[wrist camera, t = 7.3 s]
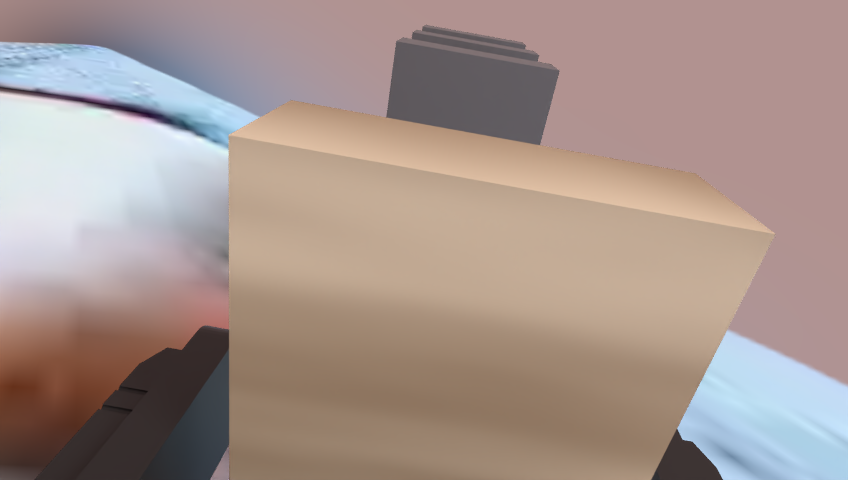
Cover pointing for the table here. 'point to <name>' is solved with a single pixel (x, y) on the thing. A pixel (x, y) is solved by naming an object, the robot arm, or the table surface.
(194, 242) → the table surface
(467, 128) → the charcoal domino
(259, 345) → the maple domino
